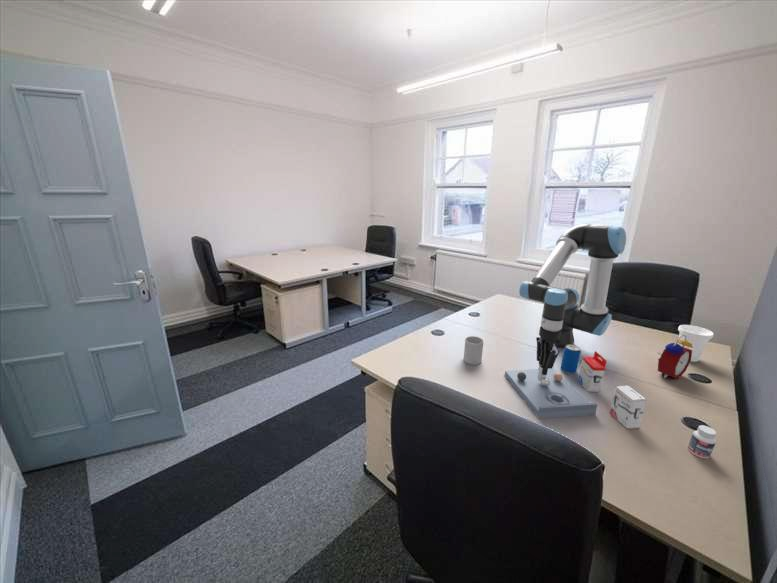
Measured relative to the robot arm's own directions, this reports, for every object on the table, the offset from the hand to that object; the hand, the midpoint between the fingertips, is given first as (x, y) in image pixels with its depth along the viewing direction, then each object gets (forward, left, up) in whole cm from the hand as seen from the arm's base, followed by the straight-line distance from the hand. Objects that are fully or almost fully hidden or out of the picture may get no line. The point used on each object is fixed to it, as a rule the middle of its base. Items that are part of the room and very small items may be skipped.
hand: (541, 379), depth 133 cm
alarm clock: (-63, -4, -4) cm, 64 cm away
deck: (0, +4, -4) cm, 6 cm away
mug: (+20, -26, -4) cm, 33 cm away
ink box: (-19, +22, -4) cm, 29 cm away
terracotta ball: (-8, -1, 0) cm, 8 cm away
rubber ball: (+7, -3, 0) cm, 8 cm away
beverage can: (-20, -11, -4) cm, 24 cm away
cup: (-86, -16, -4) cm, 88 cm away
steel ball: (0, +2, 0) cm, 3 cm away
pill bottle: (-31, +38, -4) cm, 49 cm away
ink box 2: (-21, +1, -4) cm, 22 cm away
